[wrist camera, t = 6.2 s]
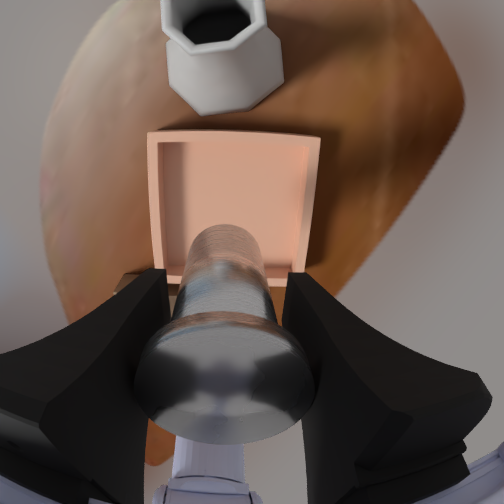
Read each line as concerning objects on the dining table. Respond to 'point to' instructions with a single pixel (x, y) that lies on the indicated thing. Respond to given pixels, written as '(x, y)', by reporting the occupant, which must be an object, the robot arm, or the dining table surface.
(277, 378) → the pin
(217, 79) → the flask
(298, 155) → the tray
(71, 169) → the dining table surface
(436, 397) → the robot arm
